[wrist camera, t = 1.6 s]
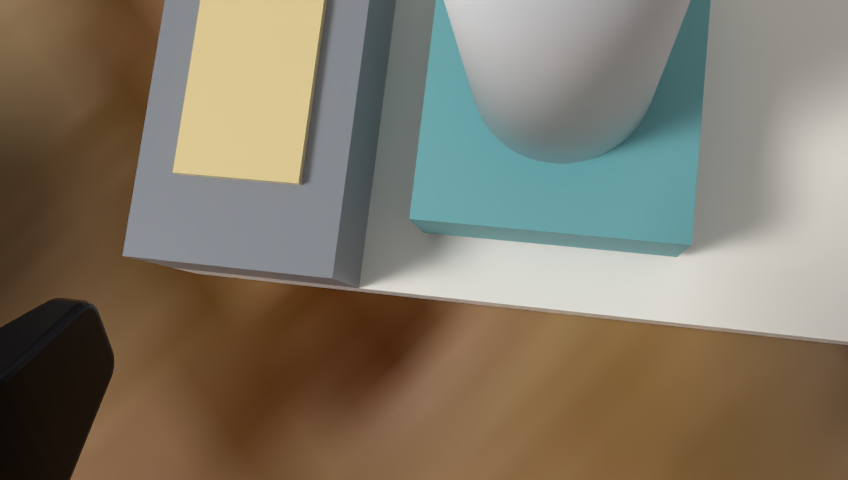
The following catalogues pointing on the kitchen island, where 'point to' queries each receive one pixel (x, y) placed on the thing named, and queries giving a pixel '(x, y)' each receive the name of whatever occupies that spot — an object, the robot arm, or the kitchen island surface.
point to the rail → (477, 257)
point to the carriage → (563, 122)
